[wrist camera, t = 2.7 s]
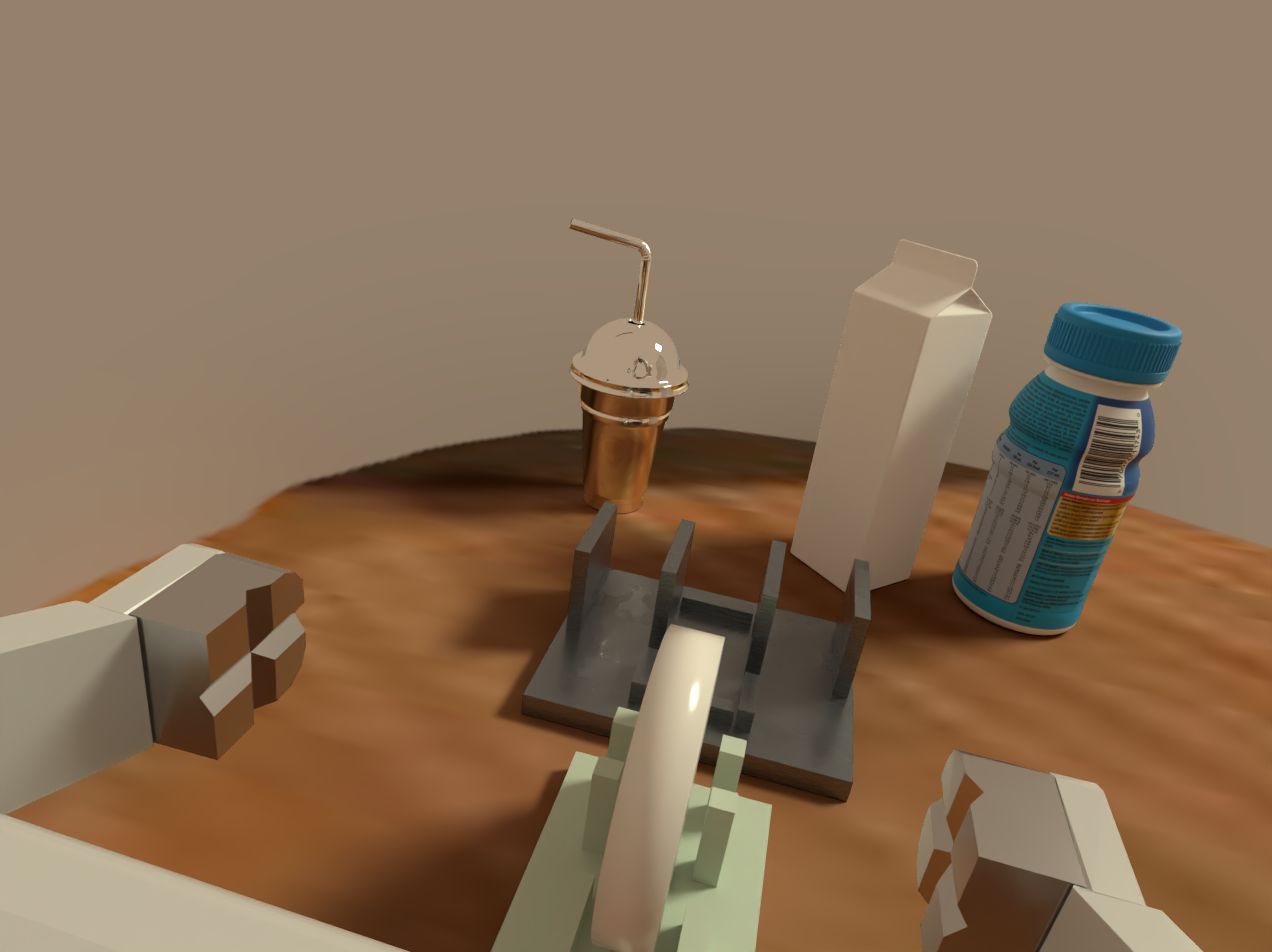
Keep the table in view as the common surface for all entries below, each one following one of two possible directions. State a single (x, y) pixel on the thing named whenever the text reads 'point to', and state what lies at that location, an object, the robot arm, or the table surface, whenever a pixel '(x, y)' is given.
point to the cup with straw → (624, 394)
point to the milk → (891, 415)
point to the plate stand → (703, 875)
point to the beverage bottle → (1065, 469)
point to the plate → (655, 792)
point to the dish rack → (749, 668)
